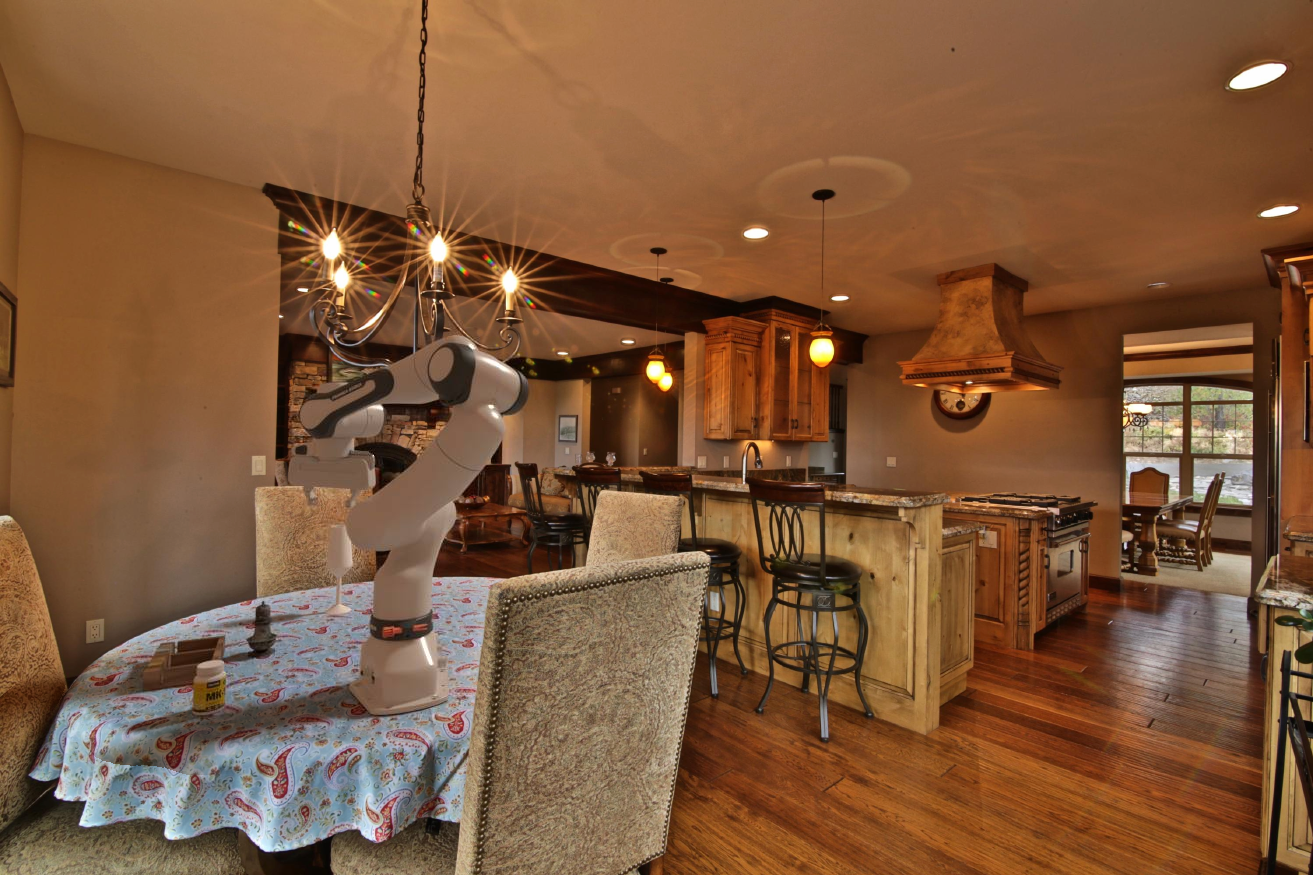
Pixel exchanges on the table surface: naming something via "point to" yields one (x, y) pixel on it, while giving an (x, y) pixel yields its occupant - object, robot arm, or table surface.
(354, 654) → the table surface
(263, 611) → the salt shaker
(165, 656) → the divided sorting tray
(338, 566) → the champagne flute
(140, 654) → the table surface
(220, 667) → the supplement bottle
